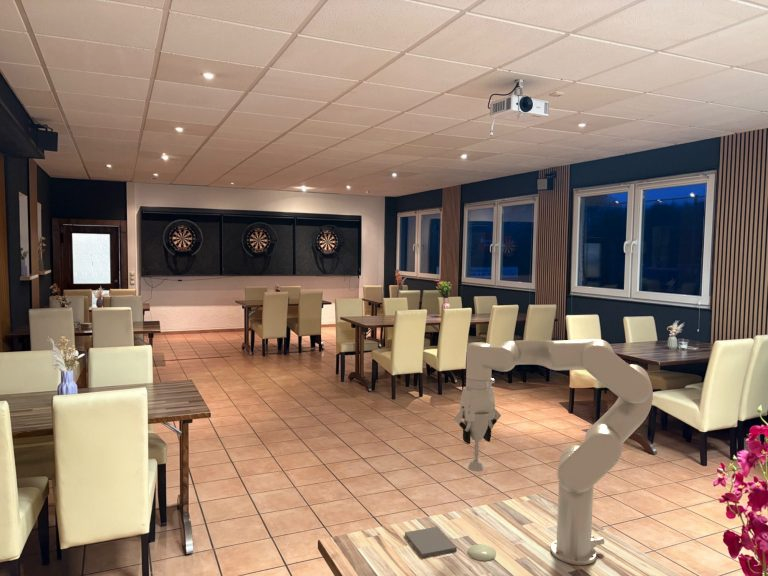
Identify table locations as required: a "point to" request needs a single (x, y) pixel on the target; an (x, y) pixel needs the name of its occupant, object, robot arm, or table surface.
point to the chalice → (478, 439)
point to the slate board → (430, 541)
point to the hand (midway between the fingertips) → (476, 440)
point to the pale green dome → (482, 552)
